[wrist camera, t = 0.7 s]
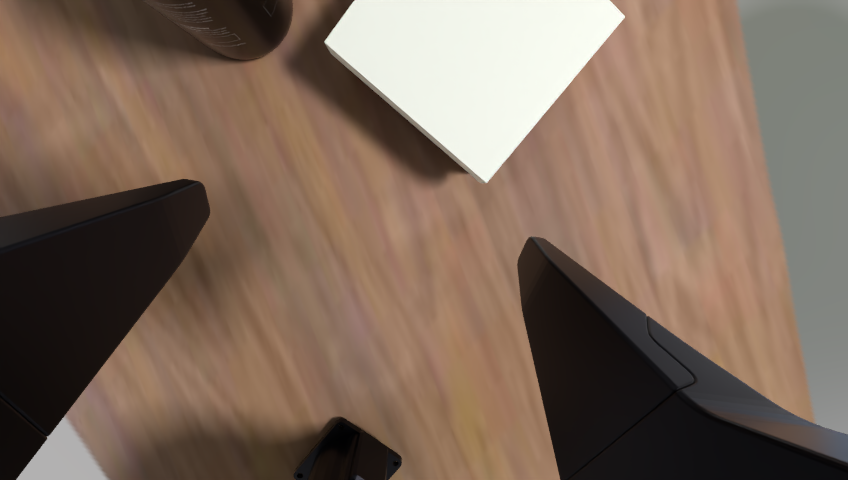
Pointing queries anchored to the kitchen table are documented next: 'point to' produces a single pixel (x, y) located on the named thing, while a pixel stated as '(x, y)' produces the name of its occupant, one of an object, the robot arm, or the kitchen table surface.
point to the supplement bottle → (231, 23)
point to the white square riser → (471, 65)
